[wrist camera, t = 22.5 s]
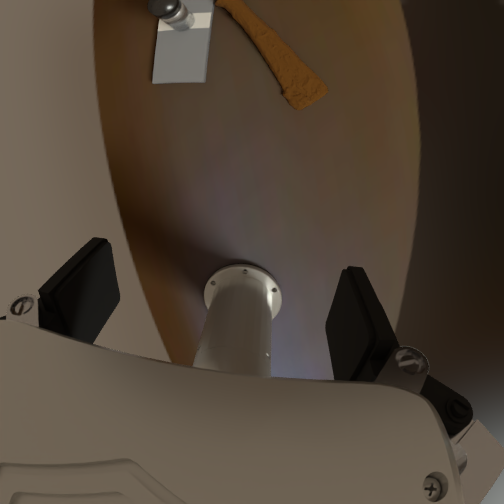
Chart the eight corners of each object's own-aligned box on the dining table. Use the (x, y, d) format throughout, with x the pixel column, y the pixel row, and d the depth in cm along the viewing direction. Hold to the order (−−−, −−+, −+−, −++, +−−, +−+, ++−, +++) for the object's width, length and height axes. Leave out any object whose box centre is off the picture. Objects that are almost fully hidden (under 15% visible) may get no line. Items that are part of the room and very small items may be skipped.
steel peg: (193, 30, 27) (174, 12, 20) (170, 32, 27) (145, 16, 20) (196, 10, 25) (178, -11, 18) (172, 12, 25) (149, -7, 18)
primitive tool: (329, 91, 31) (335, 89, 28) (296, 113, 33) (298, 113, 30) (236, -8, 25) (232, -18, 22) (204, 14, 27) (197, 6, 23)
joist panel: (205, 82, 31) (203, 81, 30) (155, 83, 31) (151, 83, 30) (219, -28, 23) (218, -32, 22) (170, -24, 23) (168, -27, 22)
